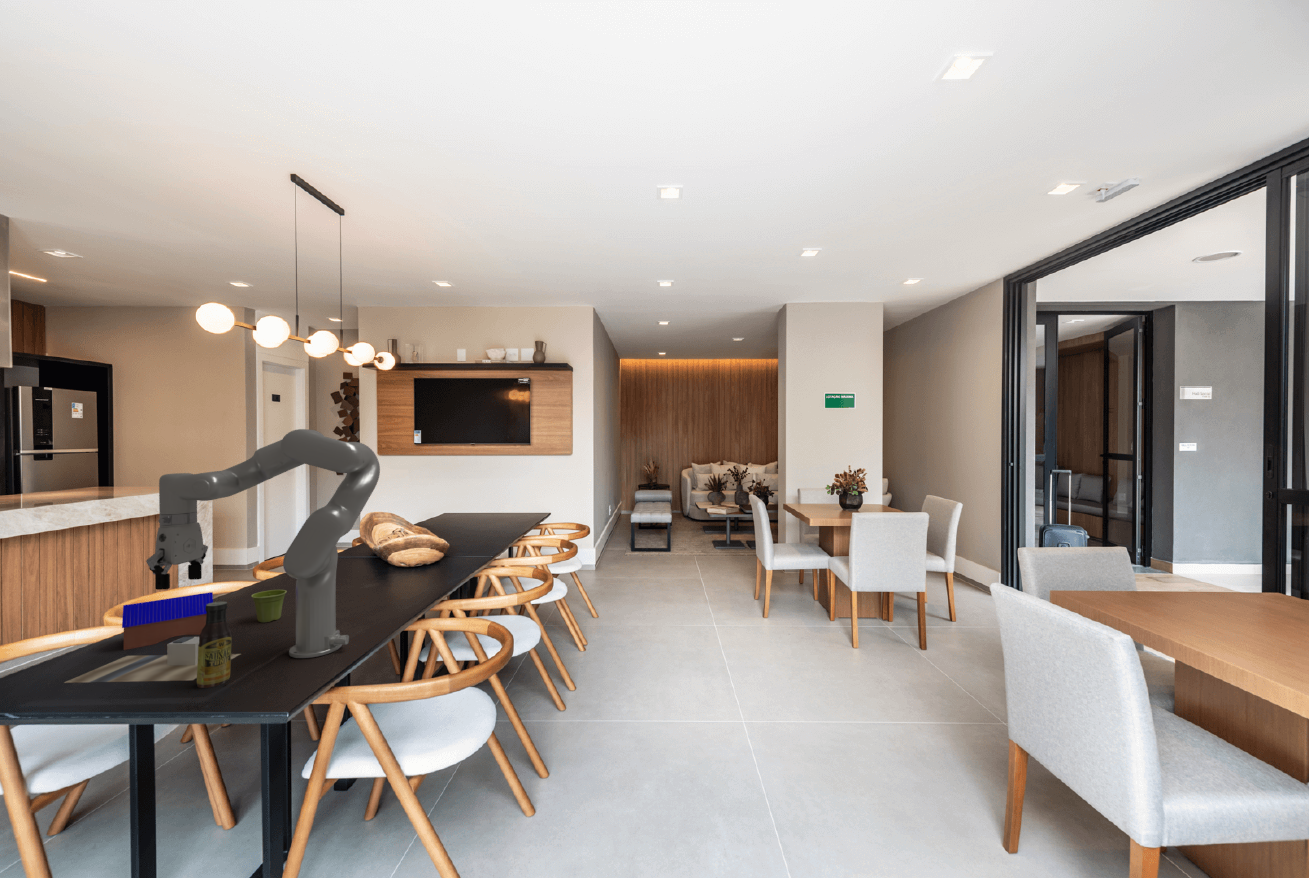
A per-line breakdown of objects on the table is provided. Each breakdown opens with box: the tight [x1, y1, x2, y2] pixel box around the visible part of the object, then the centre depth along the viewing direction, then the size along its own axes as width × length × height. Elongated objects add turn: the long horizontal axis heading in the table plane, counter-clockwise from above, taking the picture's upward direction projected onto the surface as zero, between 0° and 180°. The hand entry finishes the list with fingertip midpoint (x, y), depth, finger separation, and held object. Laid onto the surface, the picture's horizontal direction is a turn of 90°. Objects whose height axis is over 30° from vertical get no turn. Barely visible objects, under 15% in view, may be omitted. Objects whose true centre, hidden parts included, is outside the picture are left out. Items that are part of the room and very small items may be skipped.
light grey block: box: [166, 636, 199, 666], centre depth 141 cm, size 7×5×6 cm
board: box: [63, 653, 241, 684], centre depth 137 cm, size 30×16×1 cm, turn 92°
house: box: [121, 591, 214, 651], centre depth 162 cm, size 12×20×12 cm, turn 132°
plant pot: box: [251, 589, 288, 623], centre depth 177 cm, size 9×9×9 cm
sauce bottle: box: [196, 601, 232, 689], centre depth 129 cm, size 6×6×20 cm
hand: (179, 584), depth 143 cm, fingers open, 9 cm apart
